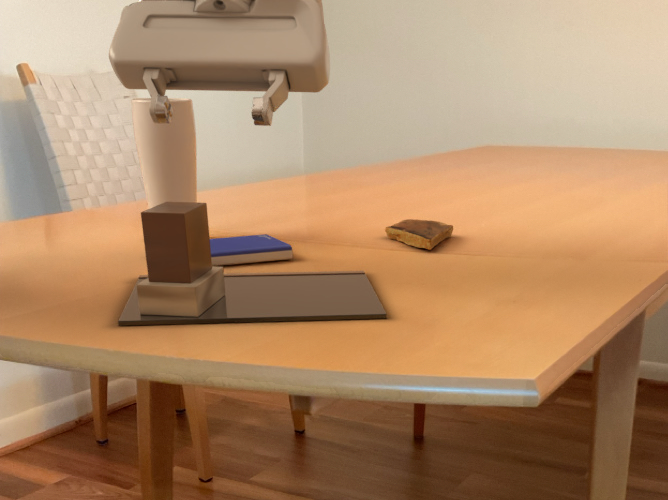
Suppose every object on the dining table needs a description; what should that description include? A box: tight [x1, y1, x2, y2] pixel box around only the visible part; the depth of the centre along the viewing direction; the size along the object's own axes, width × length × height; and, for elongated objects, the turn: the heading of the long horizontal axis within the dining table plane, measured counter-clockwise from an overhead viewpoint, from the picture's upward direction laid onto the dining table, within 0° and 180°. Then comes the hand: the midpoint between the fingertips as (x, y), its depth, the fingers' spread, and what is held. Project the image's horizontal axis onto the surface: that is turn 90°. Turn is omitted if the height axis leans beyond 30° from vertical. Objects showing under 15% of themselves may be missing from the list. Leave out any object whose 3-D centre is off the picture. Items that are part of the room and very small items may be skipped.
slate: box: [117, 270, 388, 327], centre depth 83 cm, size 22×17×1 cm
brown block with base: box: [135, 202, 225, 317], centre depth 77 cm, size 8×5×8 cm, turn 174°
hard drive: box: [210, 233, 294, 267], centre depth 99 cm, size 2×8×12 cm
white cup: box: [130, 97, 198, 210], centre depth 105 cm, size 7×7×15 cm
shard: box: [384, 218, 454, 251], centre depth 108 cm, size 11×8×2 cm
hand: (209, 119), depth 83 cm, fingers open, 8 cm apart
